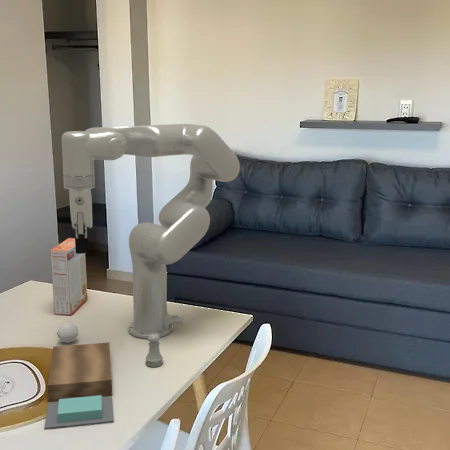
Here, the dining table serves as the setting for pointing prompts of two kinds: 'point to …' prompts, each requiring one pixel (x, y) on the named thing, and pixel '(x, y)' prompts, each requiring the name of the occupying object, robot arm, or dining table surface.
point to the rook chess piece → (154, 351)
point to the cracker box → (68, 278)
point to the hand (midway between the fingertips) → (82, 252)
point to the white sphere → (67, 332)
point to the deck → (80, 371)
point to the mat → (53, 423)
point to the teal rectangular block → (79, 408)
